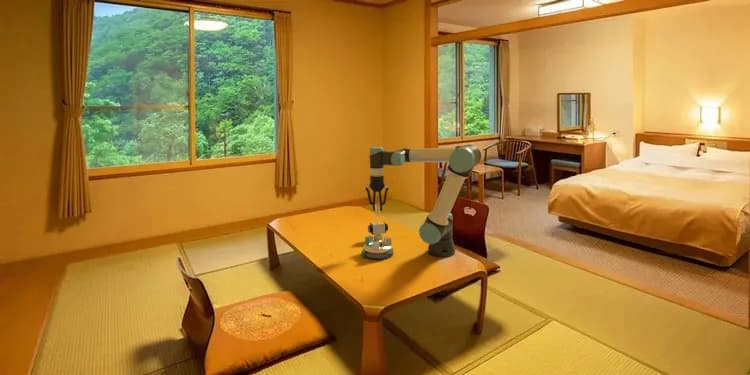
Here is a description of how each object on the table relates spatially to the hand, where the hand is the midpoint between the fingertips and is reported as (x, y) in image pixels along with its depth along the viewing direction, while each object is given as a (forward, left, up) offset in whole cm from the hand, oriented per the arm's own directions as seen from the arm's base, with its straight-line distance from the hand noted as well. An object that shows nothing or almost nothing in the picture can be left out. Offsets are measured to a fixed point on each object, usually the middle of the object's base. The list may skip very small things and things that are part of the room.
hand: (377, 216), depth 237 cm
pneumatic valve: (+12, -15, -21) cm, 28 cm away
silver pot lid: (-3, +5, -20) cm, 21 cm away
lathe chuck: (-3, +5, -17) cm, 18 cm away
